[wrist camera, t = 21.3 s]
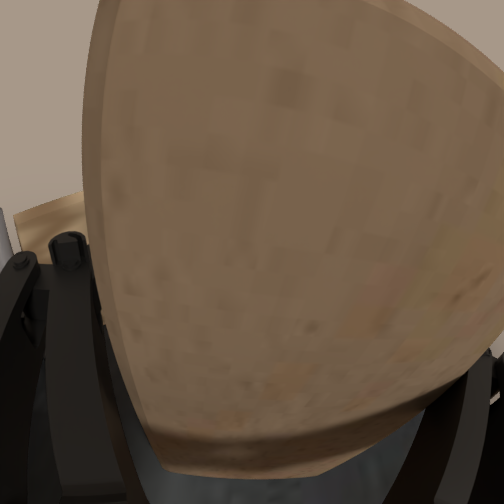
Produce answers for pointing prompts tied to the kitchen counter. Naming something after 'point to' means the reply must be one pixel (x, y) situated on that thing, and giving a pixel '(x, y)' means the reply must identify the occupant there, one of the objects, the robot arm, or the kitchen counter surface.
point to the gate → (51, 225)
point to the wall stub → (5, 245)
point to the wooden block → (290, 222)
